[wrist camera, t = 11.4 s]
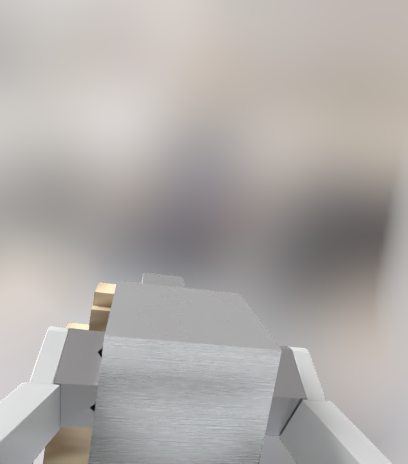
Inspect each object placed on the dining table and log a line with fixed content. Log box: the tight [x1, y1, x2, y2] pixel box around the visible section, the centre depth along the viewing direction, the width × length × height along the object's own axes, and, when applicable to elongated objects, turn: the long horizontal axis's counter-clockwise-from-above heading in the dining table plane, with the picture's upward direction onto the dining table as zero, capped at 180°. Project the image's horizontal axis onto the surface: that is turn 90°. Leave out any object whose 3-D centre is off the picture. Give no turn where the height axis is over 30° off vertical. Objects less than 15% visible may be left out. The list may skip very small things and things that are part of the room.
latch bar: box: [88, 273, 282, 464], centre depth 14 cm, size 4×11×4 cm, turn 9°
